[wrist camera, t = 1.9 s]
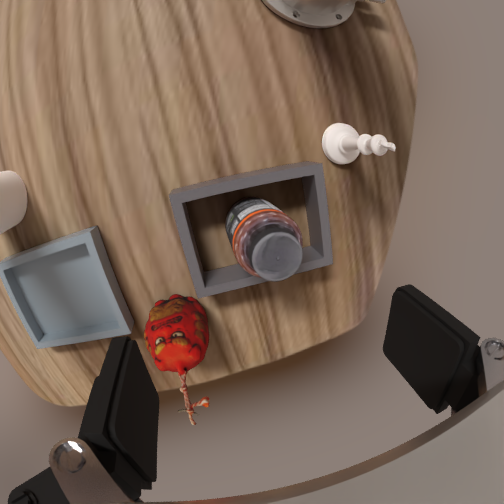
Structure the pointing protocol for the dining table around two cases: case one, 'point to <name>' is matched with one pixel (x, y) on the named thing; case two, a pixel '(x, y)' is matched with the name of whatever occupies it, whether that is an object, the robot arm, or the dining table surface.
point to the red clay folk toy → (178, 339)
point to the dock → (309, 171)
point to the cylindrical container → (11, 200)
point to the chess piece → (351, 144)
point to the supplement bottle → (264, 239)
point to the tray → (66, 291)
